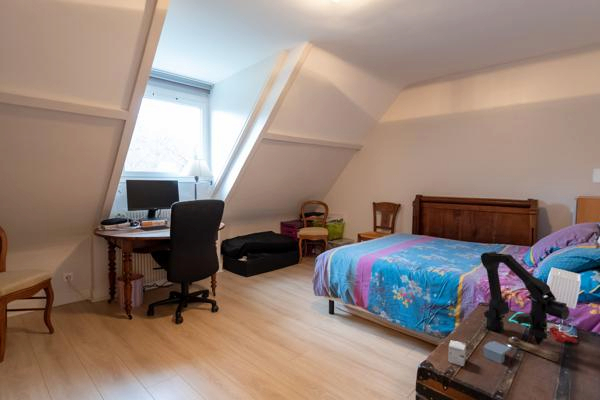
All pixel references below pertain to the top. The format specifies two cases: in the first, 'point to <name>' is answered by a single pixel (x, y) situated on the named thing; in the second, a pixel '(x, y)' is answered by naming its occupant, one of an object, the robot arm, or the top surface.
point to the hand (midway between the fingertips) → (537, 344)
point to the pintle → (511, 345)
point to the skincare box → (457, 353)
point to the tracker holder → (562, 335)
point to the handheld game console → (513, 319)
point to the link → (534, 349)
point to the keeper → (496, 351)
